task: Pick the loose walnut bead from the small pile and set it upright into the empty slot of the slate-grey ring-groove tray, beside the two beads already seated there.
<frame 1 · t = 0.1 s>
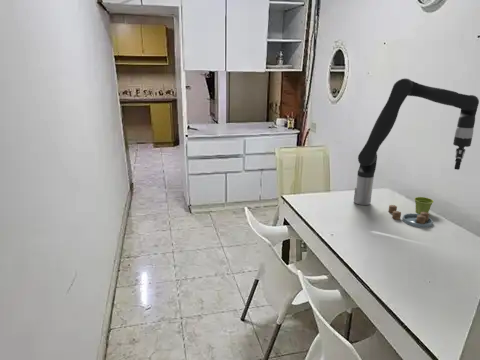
hand: (457, 167, 177), 29 cm above the table, fingers open, 8 cm apart
bead: (395, 220, 185), on the table
plant pot: (421, 214, 193), on the table
seated bead B: (423, 221, 181), point 1 cm above the table, touching groove tray
groove tray: (416, 223, 181), on the table
seated bead A: (420, 224, 177), point 1 cm above the table, touching groove tray
pile bead: (392, 213, 194), on the table
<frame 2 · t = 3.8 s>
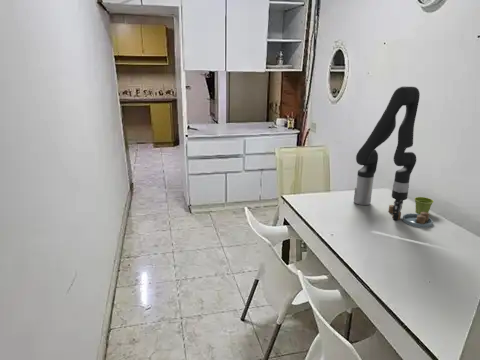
hand: (396, 219, 185), 0 cm above the table, fingers closed on bead, 4 cm apart
bead: (395, 219, 185), on the table, touching gripper
everything else where it was.
when the fingers open (3 cm above the table, at t = 7.6 s): bead drops 1 cm, resting on groove tray.
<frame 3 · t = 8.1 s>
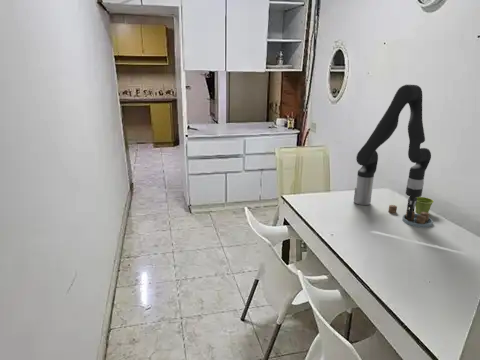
hand: (410, 215, 182), 4 cm above the table, fingers open, 8 cm apart
bead: (409, 219, 183), point 1 cm above the table, touching groove tray
everything else where it was.
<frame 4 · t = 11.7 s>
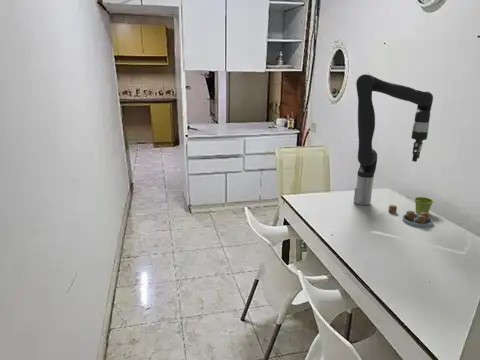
hand: (415, 159, 189), 30 cm above the table, fingers open, 8 cm apart
nothing on the table moved.
at the end: bead 0.0 cm from the target spot on the groove tray, point 1.0 cm above the groove tray's base; bead tilted 0°; the gripper is holding nothing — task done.
